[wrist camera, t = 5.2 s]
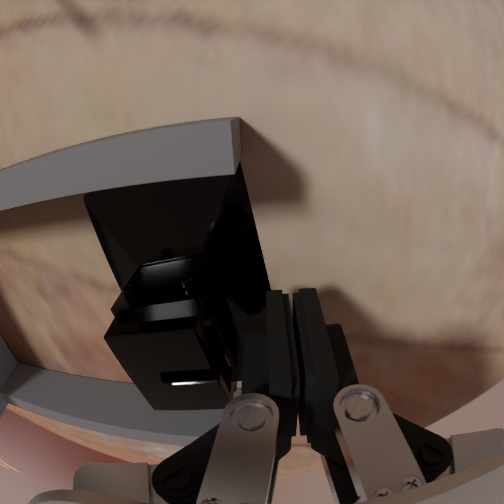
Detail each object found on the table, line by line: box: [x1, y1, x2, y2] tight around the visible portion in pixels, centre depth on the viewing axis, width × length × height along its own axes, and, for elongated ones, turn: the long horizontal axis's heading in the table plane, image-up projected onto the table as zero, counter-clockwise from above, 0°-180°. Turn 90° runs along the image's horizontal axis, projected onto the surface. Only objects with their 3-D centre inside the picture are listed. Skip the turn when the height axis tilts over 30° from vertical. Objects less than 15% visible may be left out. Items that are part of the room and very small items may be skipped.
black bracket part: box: [84, 161, 271, 410], centre depth 10 cm, size 12×7×5 cm, turn 12°
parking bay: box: [0, 117, 242, 446], centre depth 10 cm, size 18×14×5 cm
